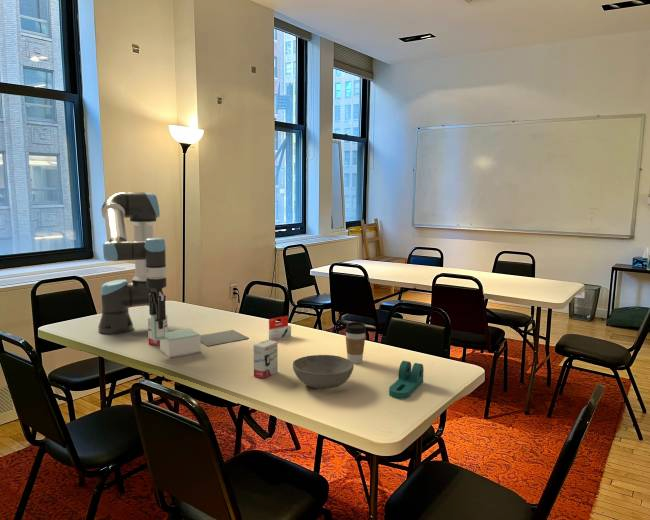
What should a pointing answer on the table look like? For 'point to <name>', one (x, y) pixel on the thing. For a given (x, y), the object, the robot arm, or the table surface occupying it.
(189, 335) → the lid
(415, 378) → the bracket
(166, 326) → the ink box
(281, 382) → the table surface
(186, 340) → the tub
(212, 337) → the mat
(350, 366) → the bowl
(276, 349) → the ink box
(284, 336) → the ink box
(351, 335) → the coffee cup
